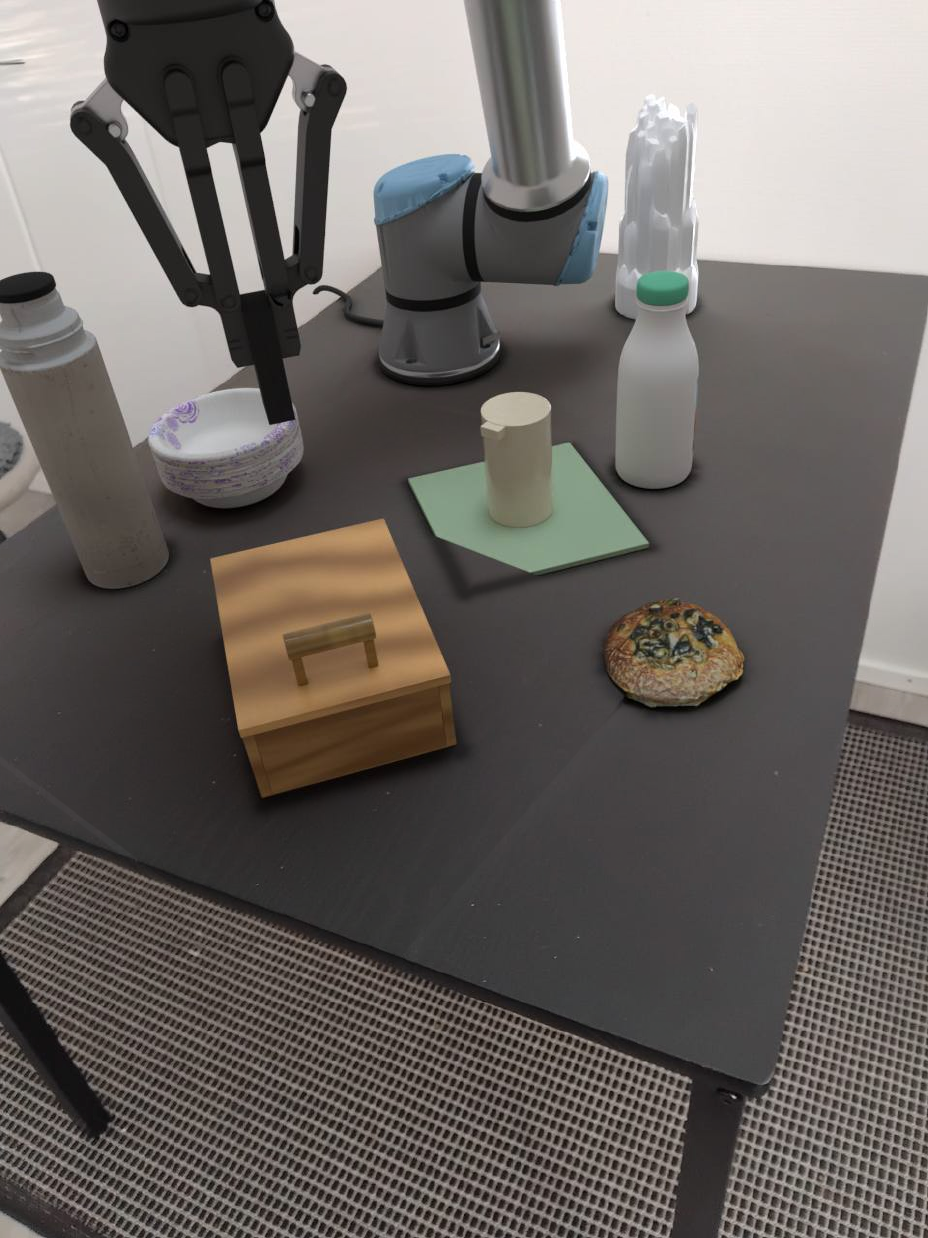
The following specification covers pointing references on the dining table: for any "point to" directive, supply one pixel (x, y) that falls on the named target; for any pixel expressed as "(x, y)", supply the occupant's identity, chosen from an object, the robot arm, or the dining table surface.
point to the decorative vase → (658, 202)
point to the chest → (351, 740)
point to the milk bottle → (657, 387)
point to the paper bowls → (224, 448)
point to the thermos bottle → (78, 433)
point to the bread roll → (671, 654)
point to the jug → (518, 458)
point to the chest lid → (322, 627)
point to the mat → (564, 540)
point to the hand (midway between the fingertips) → (279, 411)
